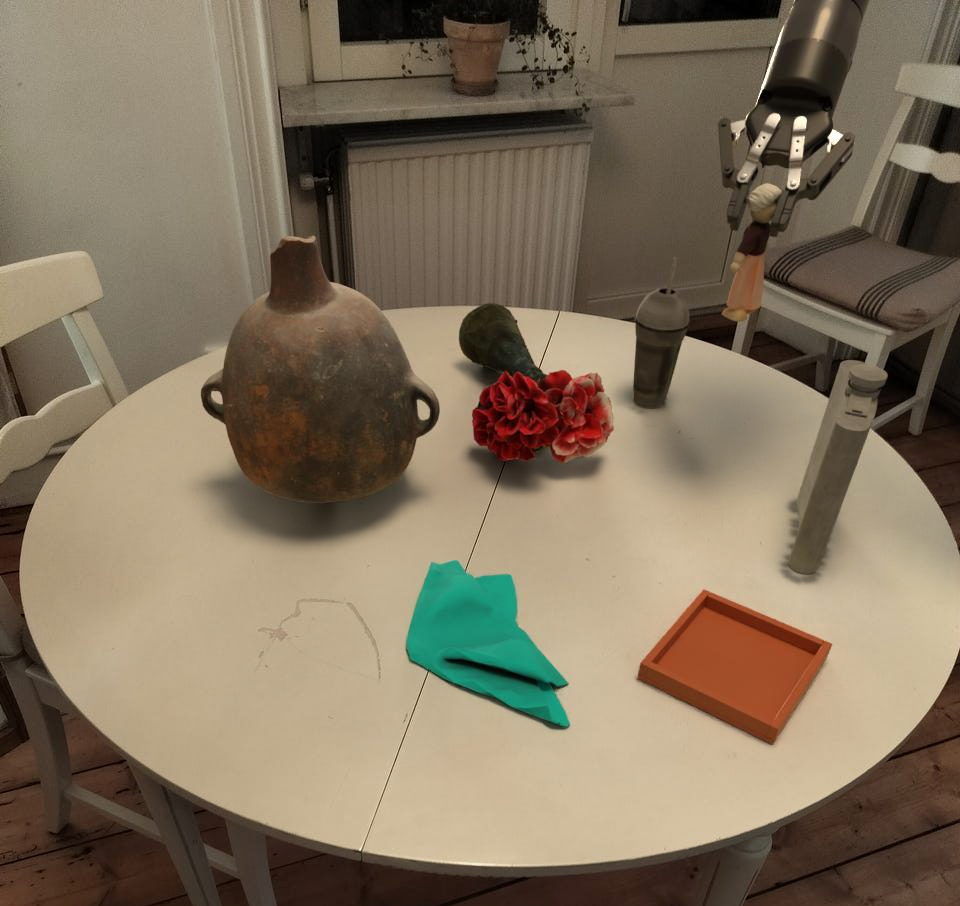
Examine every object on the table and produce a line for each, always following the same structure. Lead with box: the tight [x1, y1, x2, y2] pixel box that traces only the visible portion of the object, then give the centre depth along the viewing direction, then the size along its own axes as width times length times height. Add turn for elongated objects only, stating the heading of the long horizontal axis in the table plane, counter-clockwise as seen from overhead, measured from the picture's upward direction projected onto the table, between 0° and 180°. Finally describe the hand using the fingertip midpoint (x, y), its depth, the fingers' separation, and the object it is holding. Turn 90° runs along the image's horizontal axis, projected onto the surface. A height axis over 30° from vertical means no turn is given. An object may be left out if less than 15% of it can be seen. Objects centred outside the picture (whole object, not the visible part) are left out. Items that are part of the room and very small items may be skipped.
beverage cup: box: [632, 257, 691, 409], centre depth 115 cm, size 7×7×20 cm
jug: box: [200, 235, 441, 504], centre depth 94 cm, size 24×21×30 cm
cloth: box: [405, 559, 571, 728], centre depth 84 cm, size 26×14×2 cm, turn 16°
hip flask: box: [787, 359, 889, 575], centre depth 92 cm, size 16×4×20 cm, turn 161°
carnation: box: [458, 302, 615, 464], centre depth 113 cm, size 16×18×35 cm
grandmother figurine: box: [721, 182, 782, 323], centre depth 88 cm, size 8×4×13 cm, turn 155°
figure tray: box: [637, 588, 833, 745], centre depth 82 cm, size 14×14×2 cm
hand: (753, 228), depth 85 cm, fingers closed on grandmother figurine, 3 cm apart
